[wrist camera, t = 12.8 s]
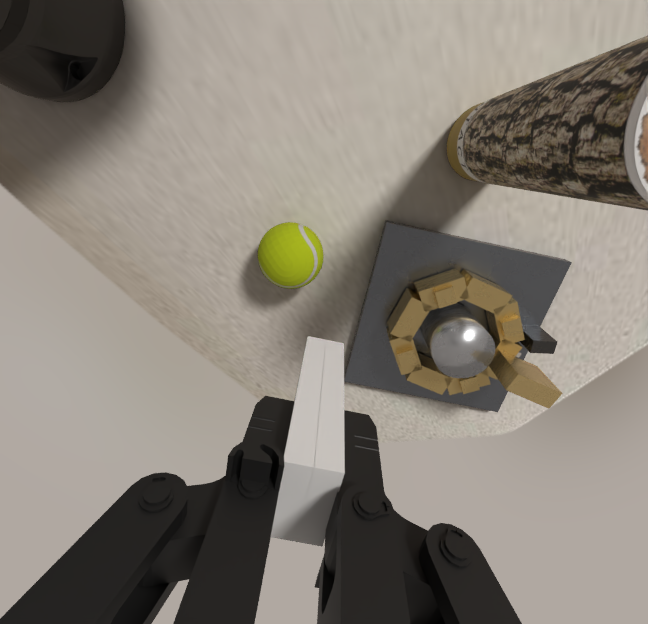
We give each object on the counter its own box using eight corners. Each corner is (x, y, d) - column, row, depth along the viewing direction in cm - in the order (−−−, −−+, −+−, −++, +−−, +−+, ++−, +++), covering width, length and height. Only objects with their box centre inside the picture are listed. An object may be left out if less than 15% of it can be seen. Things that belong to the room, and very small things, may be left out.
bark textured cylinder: (529, 114, 34) (926, 21, 11) (497, 188, 36) (762, 239, 13) (461, 94, 33) (722, -48, 10) (434, 170, 36) (594, 190, 13)
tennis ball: (336, 255, 40) (335, 272, 34) (290, 288, 42) (280, 310, 36) (300, 204, 38) (291, 213, 32) (252, 241, 40) (236, 257, 34)
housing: (344, 376, 46) (344, 412, 39) (385, 220, 38) (394, 233, 32) (494, 406, 47) (518, 446, 40) (565, 259, 39) (610, 280, 32)
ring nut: (369, 352, 43) (375, 391, 36) (427, 251, 38) (447, 273, 31) (486, 401, 45) (513, 448, 38) (555, 312, 40) (603, 346, 32)
